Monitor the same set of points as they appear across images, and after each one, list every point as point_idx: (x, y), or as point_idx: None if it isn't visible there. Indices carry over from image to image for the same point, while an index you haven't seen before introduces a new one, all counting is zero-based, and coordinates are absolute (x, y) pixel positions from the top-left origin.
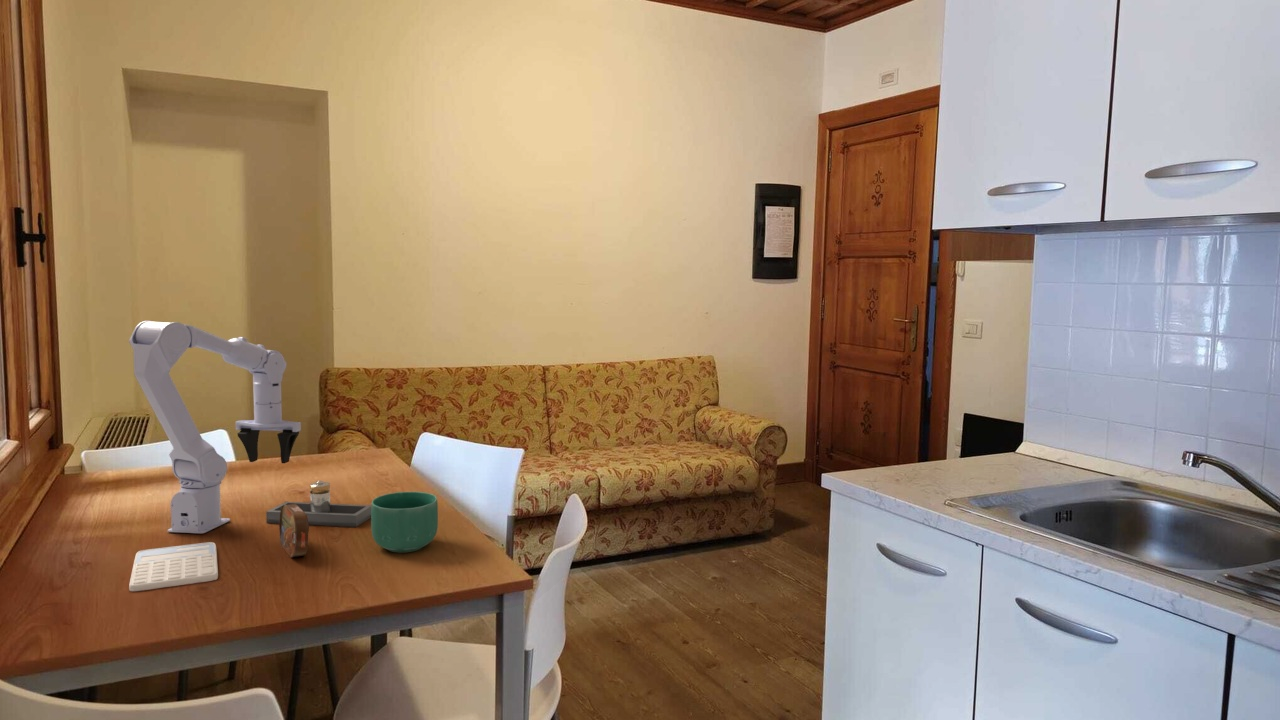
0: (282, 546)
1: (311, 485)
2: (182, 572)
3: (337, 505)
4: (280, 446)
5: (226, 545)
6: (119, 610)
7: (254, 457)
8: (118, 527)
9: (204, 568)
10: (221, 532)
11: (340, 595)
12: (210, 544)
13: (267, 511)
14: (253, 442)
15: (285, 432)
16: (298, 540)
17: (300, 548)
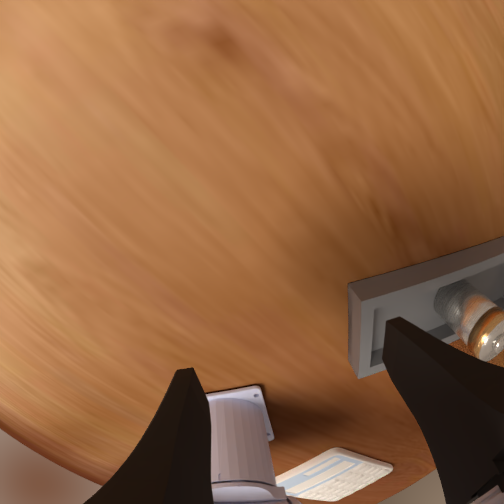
0: None
1: (483, 359)
2: (361, 483)
3: (484, 269)
4: (428, 441)
5: (347, 438)
6: (349, 501)
7: (202, 405)
8: (99, 442)
9: (379, 475)
10: (296, 420)
11: None
12: (337, 456)
13: (360, 377)
14: (196, 490)
15: (493, 484)
16: None
17: None
